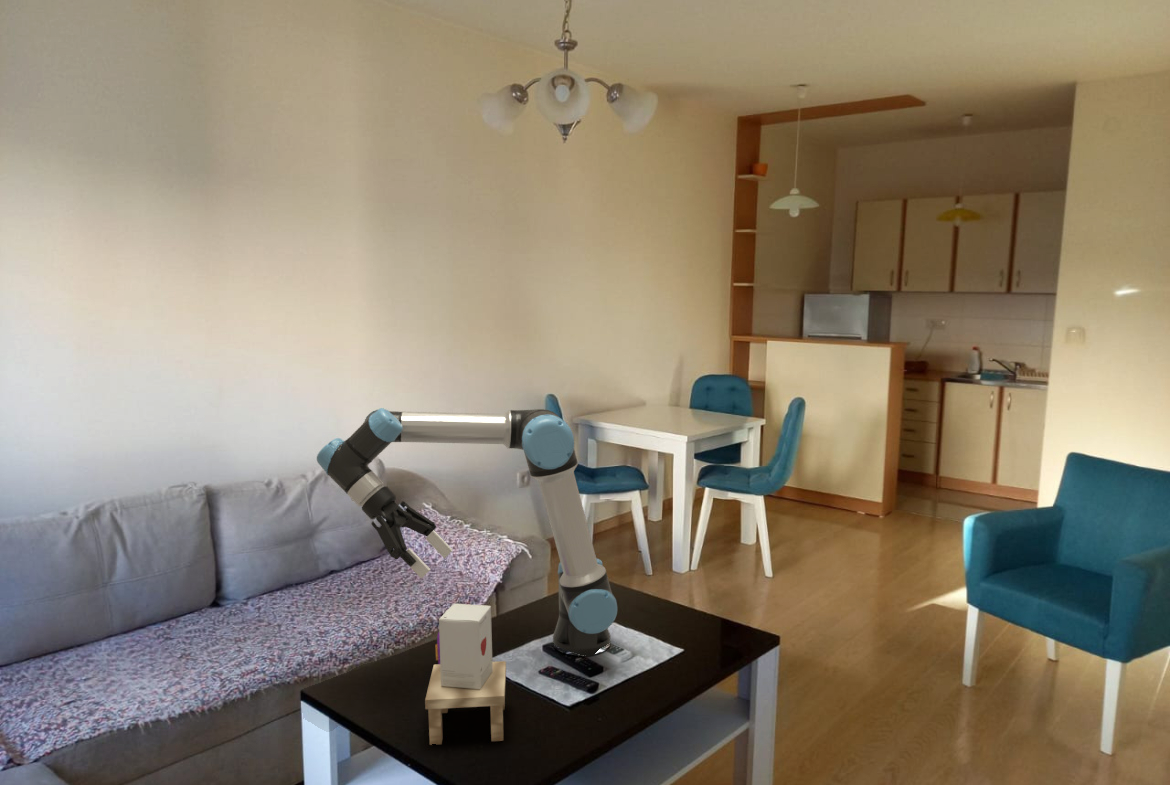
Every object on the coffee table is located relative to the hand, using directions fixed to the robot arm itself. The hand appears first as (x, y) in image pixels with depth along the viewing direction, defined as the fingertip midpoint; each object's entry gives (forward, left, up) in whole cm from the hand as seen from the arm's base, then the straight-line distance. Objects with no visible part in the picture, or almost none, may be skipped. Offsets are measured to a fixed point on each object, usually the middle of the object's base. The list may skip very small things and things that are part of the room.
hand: (437, 563), depth 181 cm
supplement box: (-7, +12, -22) cm, 26 cm away
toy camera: (-3, -12, -32) cm, 34 cm away
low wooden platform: (-7, +12, -32) cm, 35 cm away
